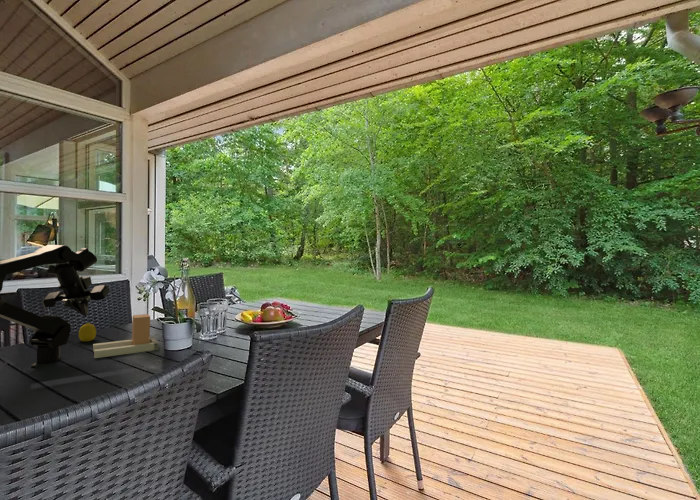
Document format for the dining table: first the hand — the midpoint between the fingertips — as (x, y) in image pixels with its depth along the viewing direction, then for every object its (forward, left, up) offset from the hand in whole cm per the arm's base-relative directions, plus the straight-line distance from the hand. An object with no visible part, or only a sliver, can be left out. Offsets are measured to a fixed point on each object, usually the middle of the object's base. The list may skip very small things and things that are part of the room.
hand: (86, 315), depth 129 cm
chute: (-2, -15, -13) cm, 20 cm away
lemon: (+10, +4, -14) cm, 18 cm away
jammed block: (0, -19, -12) cm, 22 cm away
